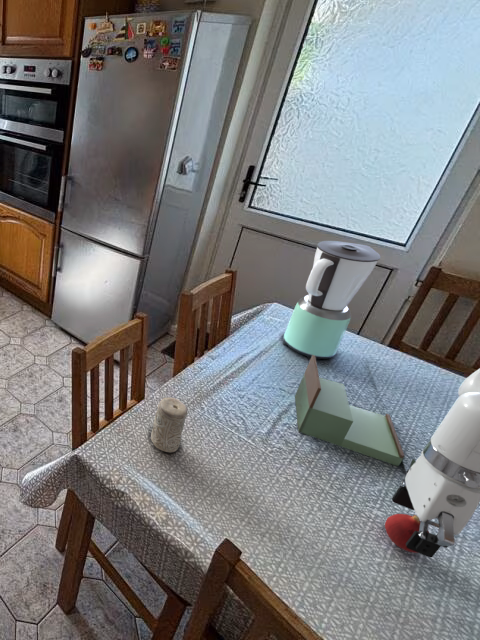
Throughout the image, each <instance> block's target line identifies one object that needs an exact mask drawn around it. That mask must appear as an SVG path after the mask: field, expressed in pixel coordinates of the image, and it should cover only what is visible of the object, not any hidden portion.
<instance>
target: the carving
mask: <svg viewBox="0 0 480 640" xmlns="http://www.w3.org/2000/svg"><path fill="white" fill-rule="evenodd" d="M187 415H188V407H187V405H186V404H185V403H184V402H182V401H181V400H179V399H178V398H175V397H168V396H167V397H163V398H162V399H161V400H160V401H159V402H158V404H157V410H156V411H155V416H154V420H153V425H152V429H151V433H150V439H151V442H152V444H153V446H154V447H155V448H157V449H158V450H160V451H162V452H166V453H174V452H176V451H178V449H179V447H180V444H181V441H182V437H183V435H182V434H183V430H184V426H185V422H186V418H187Z"/></svg>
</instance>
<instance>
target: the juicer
mask: <svg viewBox="0 0 480 640" xmlns="http://www.w3.org/2000/svg"><path fill="white" fill-rule="evenodd" d="M380 260H381V255H380V254H379V252H377V251H376V250H375V249H373V248H372V247H371V246H369V245H366V244H359V243H353V242H347V241H337V240H322V241H319V242H317V244H316V250H315V254H314V259H313V264H312V268H311V270H310V273H309V275H308V278H307V281H306V284H305V291H306V292H307V293H308V294H307V295H304V296H303V297H301V298H299V299H298V301H297V302H296V304H295V306H294V308H293V311H292V313H291V315H290V318H289V321H288V324H287V326H286V328H285V332H284V334H283V342H282V344H283V343H284V344H285V345H288V346H287V347H289V348H290V349H291V350H293V351H294V352H296V353H298V354H300V355H303V356H306V358H307V359H308V360H309V361H310V359H311V357H312V355H315V357H316V359H317V360H326V359H331V358H333V357H334V356H336V354H337V352H338V349H339V347H340V345H341V342H342V340H343V338H344V336H345V334H346V331H347V329H348V327H349V324H350V322H351V319H352V313H351V310H350V308H349V307H348V305H350V302H351V301H352V300H353V298H354V297H355V296H356V295H357V293H358V292H359V290H360V289H361V287H362V286H363V285H364V283H365V282H366V280H367V279H368V278H369V276H370V275H371V274H372V272H373V271H374V269H375V267H376V265H377V264H378V261H380ZM285 345H284V346H285Z"/></svg>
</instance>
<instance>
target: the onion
mask: <svg viewBox="0 0 480 640" xmlns="http://www.w3.org/2000/svg"><path fill="white" fill-rule="evenodd" d="M420 522H421V520H420V519H419V518H418V516H417V515H416V514H413V515H410V514H406V513H395V514H392V515H389V516H388V517H387V518H386V520H385V522H384V529H385V532H386V535H387V537H388V538H389V539H390V541H391V542H392V543H393V544H394V545H395V546H397V547H398V548H400V549H401V550H404V551H406V552H408V553H409V552H410V553H414V554H419V553H418V552H415V551H413V550H411V549H408V548H407V547H406V542H407V541H408V540H409V538H410V537H411V536H412V534H413V533H414V532H415V531H418V532H419V528H420ZM427 532H428V533H430V531H429V530H428V531H427Z"/></svg>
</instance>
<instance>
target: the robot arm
mask: <svg viewBox="0 0 480 640" xmlns="http://www.w3.org/2000/svg"><path fill="white" fill-rule="evenodd" d="M457 394H458V397H457V398H456V400H455V401H454V403H453V404H452V405H451V407H450V409H449V411H447V413H446V415H444V418H443V419H442V421H441V422H440V424H439V425H438V426H437V428H436V430H435V431H434V432H433V434H432V435H431V437H430V438H429V440H428V442H427V443H426V445H425V446H424V447H423V449H422V451H421V452H420V455H419V457H418V458H417V459H414V458H413V459H411V462H410V465H409V468H408V469H407V470H406V471H405V474H406V475H405V477H404V478H402V480H401V482H400V483H401V484H400V486H399V487H398V488H397V490H396V492H395V493H394V494H393V496H392V497H391V500H392V502H393V503H394V504H397V505H398V506H401V507H404V508H407V509H409V510H412V511H414V513H415V515H416V516H418V518H419V520H420V521H421V522H420V528H419V532H418V531H415V532H414V533H413V534H412V536H411V537H410V538H409V540H408V541H407V542H406V547H407V548H408V549H411V550H413V551H415V552H418V553H417V554H420V555H423V556H425V557H427V558H433V557H434V556H435V554H437V552H438V551H439V549H440V548H441V547H442V548H445V549H446V548H448V547H452V546H454V545H455V543H456V540H455V536H458V535H459V534H460V533H462V531H463V530H464V528H465V527H466V526H467V524H468V523H469V522H470V520H471V519H472V517H473V516H474V513H475V512H476V510H477V508H478V506H479V504H480V368H478V369H477V370H474V372H472V373H471V374H470V375H469V376H467V377H466V378H465V379H464V380H463V381H462V382H461V384H460V385H459V387H458V390H457ZM435 519H437V520H438V523H437V522H435V521H432V520H435ZM429 526H433V527H435V528H438V529H437V530H438V532H437V533H436V534H435V533H434V534H433V533H431V532H429V533H428V532H427V531H429Z"/></svg>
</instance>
